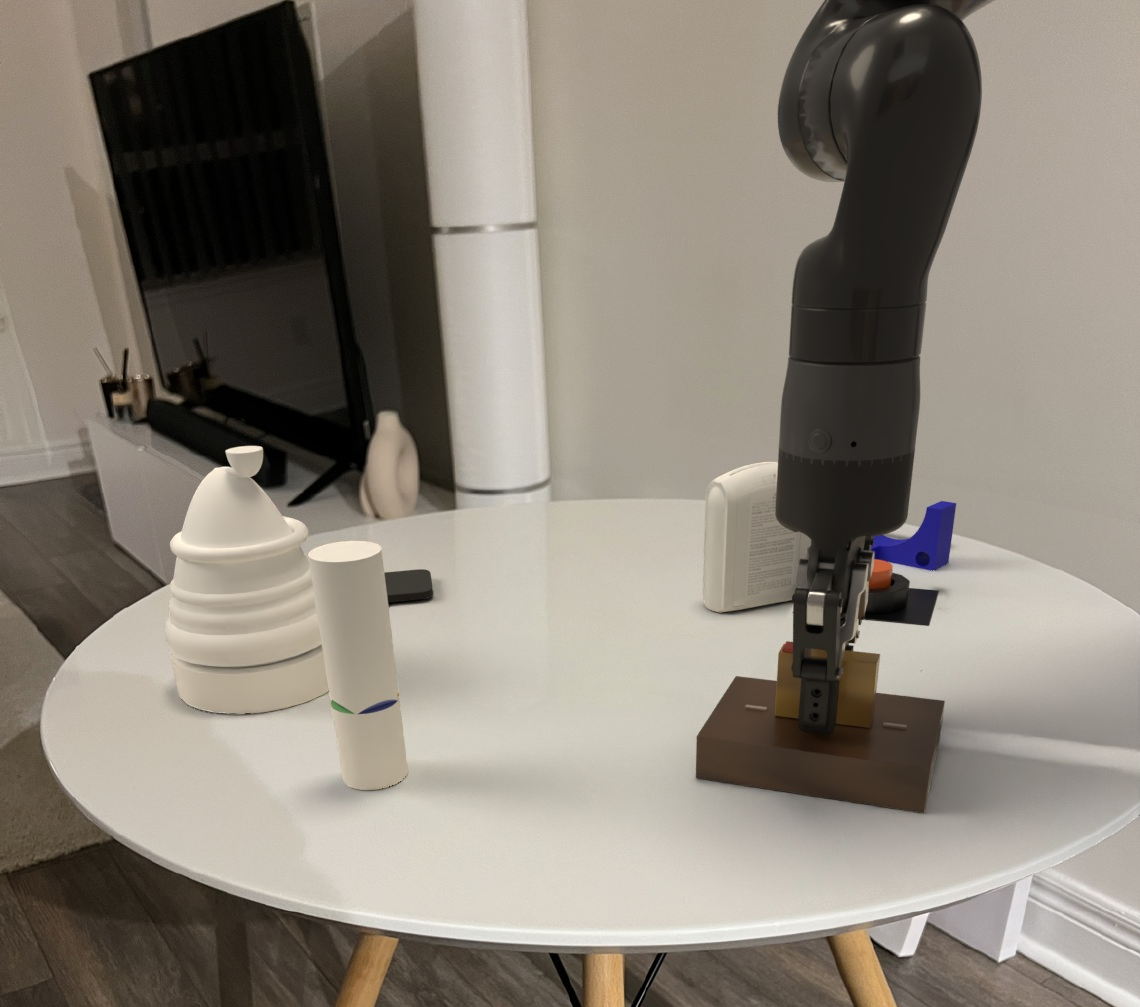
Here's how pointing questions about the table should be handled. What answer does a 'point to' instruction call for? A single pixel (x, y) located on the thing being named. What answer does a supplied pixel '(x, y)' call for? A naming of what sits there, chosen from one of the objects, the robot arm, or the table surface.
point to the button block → (901, 603)
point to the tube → (359, 662)
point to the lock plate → (822, 749)
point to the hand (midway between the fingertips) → (824, 712)
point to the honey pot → (242, 599)
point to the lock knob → (853, 686)
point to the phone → (408, 585)
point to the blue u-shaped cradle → (921, 541)
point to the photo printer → (748, 542)
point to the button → (881, 575)
